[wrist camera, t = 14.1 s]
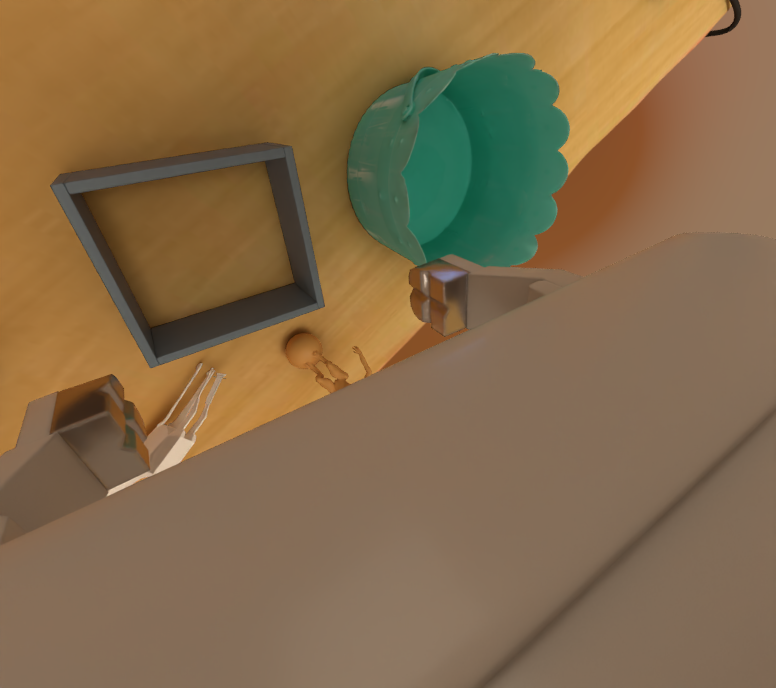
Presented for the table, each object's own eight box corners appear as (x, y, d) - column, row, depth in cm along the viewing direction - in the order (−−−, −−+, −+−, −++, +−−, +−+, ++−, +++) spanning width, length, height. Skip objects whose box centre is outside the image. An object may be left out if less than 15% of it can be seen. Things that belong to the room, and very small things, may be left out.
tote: (268, 142, 33) (292, 145, 29) (302, 286, 41) (325, 306, 37) (59, 174, 27) (49, 185, 23) (145, 337, 35) (150, 368, 31)
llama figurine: (174, 353, 43) (69, 513, 37) (219, 368, 35) (96, 571, 30) (188, 361, 44) (89, 517, 39) (235, 377, 37) (119, 573, 31)
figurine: (306, 305, 42) (357, 355, 34) (343, 329, 46) (397, 379, 38) (262, 365, 43) (301, 429, 34) (302, 384, 47) (347, 445, 38)
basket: (299, 159, 35) (367, 174, 26) (429, 19, 36) (541, -17, 27) (402, 285, 48) (473, 325, 39) (496, 180, 49) (587, 195, 40)
